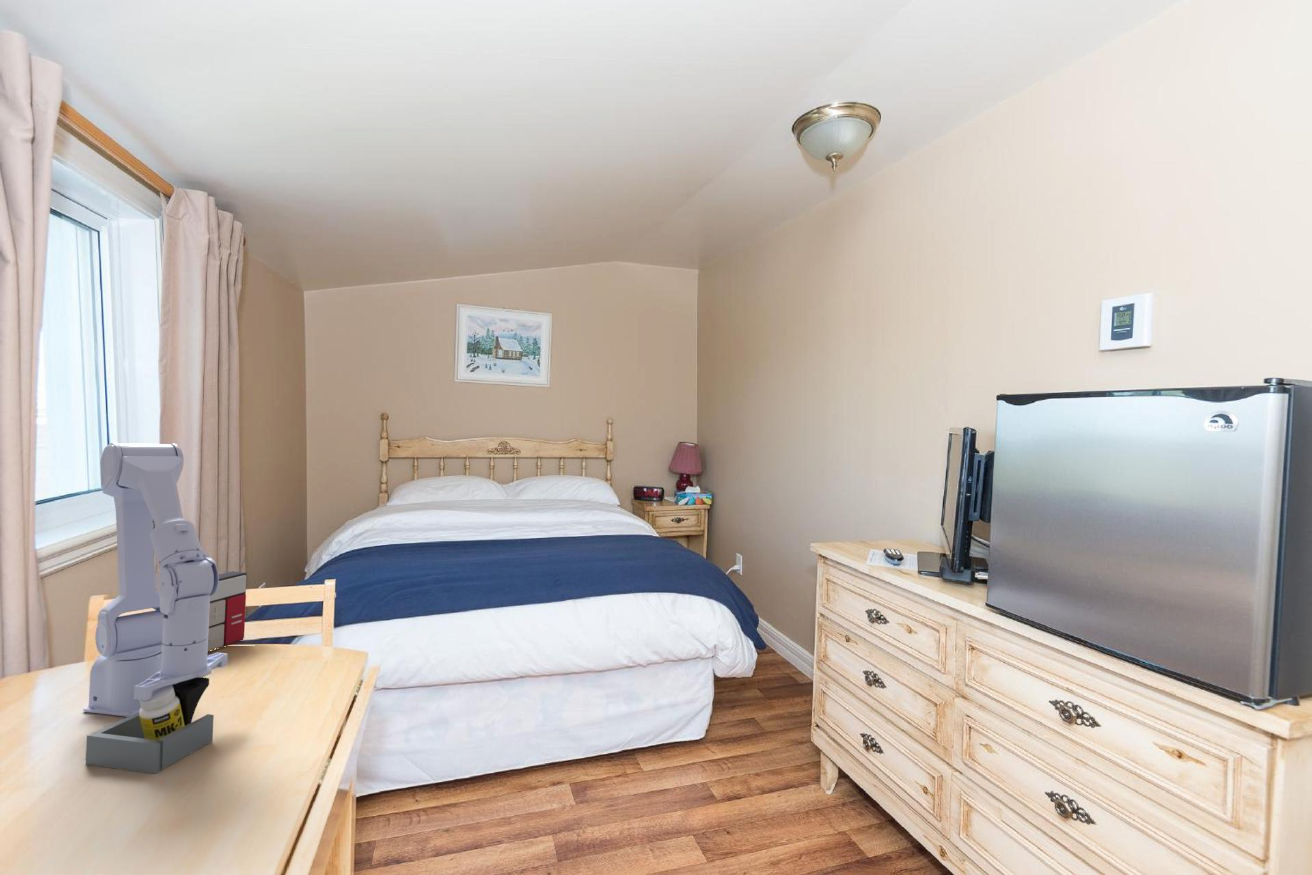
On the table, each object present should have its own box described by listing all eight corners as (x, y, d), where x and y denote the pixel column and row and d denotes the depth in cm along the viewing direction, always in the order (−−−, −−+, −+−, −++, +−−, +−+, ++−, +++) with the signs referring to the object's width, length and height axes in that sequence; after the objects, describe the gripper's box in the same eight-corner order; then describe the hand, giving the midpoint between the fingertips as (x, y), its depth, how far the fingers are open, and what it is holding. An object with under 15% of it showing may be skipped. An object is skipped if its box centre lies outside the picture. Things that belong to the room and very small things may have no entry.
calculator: (202, 656, 130) (205, 583, 130) (184, 654, 131) (188, 581, 131) (246, 640, 141) (249, 572, 141) (230, 638, 142) (233, 570, 142)
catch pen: (85, 764, 89) (86, 735, 89) (148, 733, 98) (149, 707, 98) (155, 773, 87) (156, 744, 87) (212, 741, 97) (213, 714, 97)
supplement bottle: (158, 756, 92) (146, 708, 90) (139, 745, 94) (128, 697, 92) (193, 735, 96) (183, 688, 94) (175, 724, 98) (165, 678, 96)
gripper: (166, 658, 90) (162, 754, 90) (245, 628, 104) (242, 711, 104) (122, 653, 91) (118, 748, 91) (207, 624, 105) (203, 706, 105)
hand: (181, 728), depth 98 cm, fingers closed, pressing on supplement bottle
